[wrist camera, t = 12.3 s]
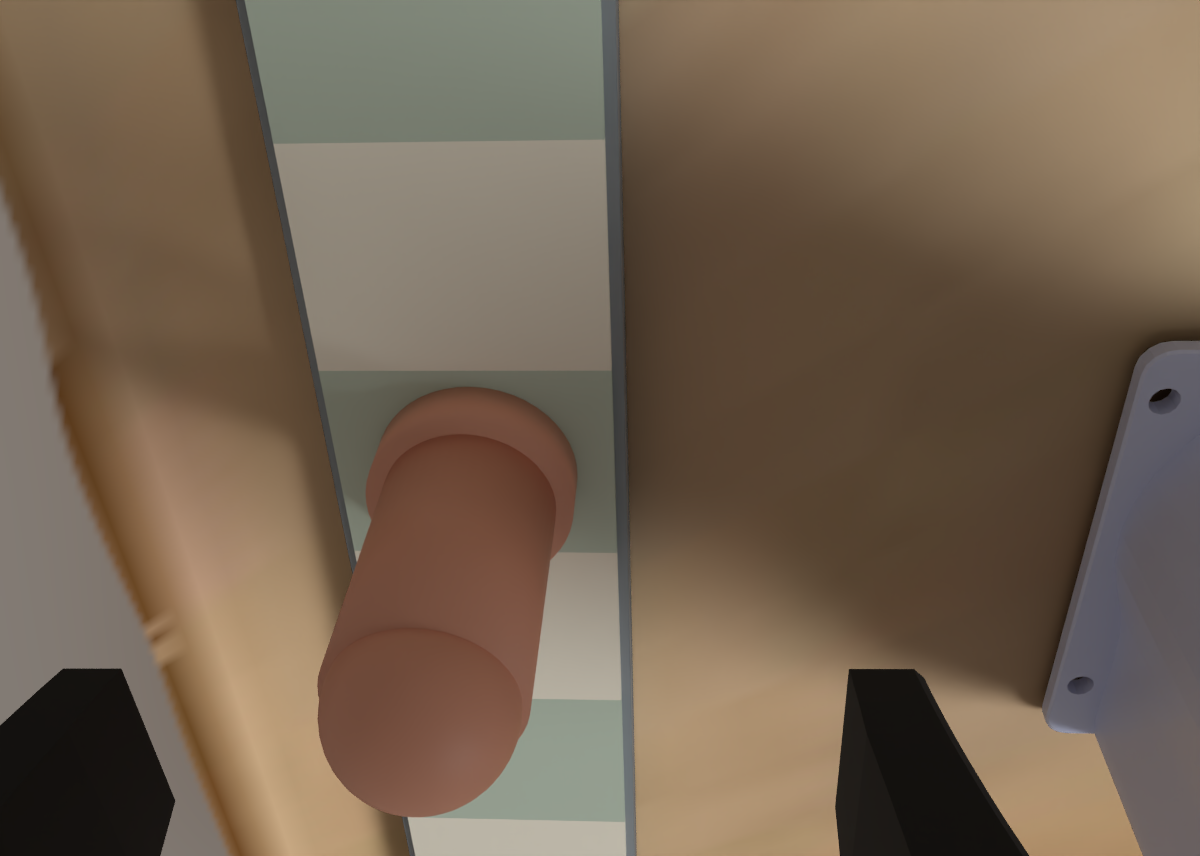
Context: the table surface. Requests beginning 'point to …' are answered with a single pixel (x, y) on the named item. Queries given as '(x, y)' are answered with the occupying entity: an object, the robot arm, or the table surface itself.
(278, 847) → the table surface
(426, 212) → the board
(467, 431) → the pawn
